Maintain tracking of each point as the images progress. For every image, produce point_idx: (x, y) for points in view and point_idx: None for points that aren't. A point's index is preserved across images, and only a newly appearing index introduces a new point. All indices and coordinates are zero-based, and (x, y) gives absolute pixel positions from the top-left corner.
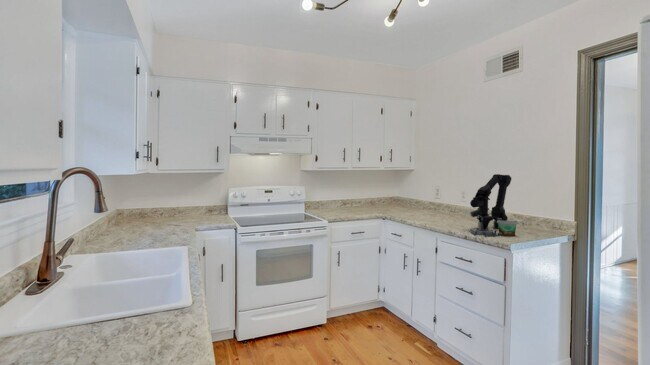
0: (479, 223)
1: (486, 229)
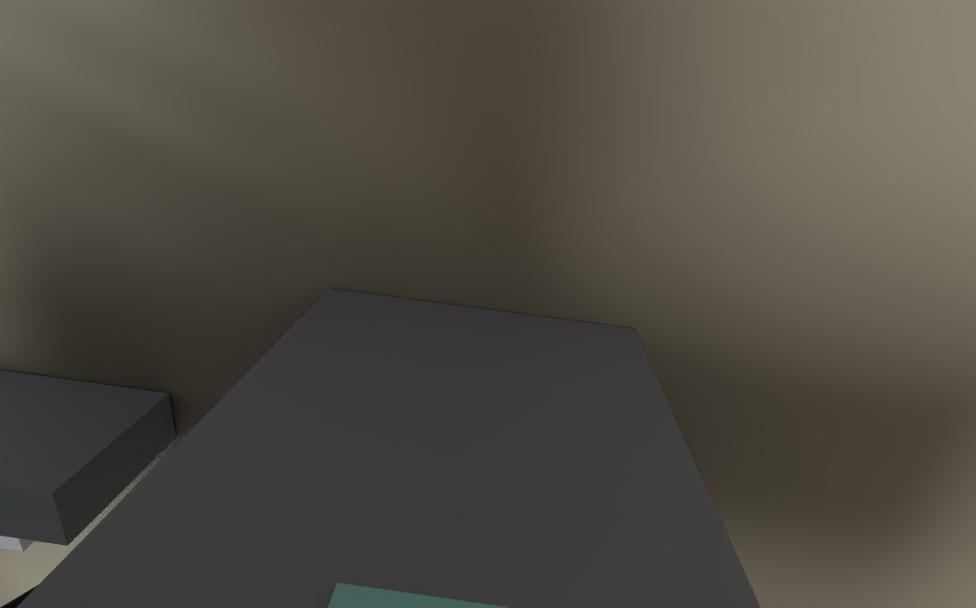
0: (371, 606)
1: (12, 470)
